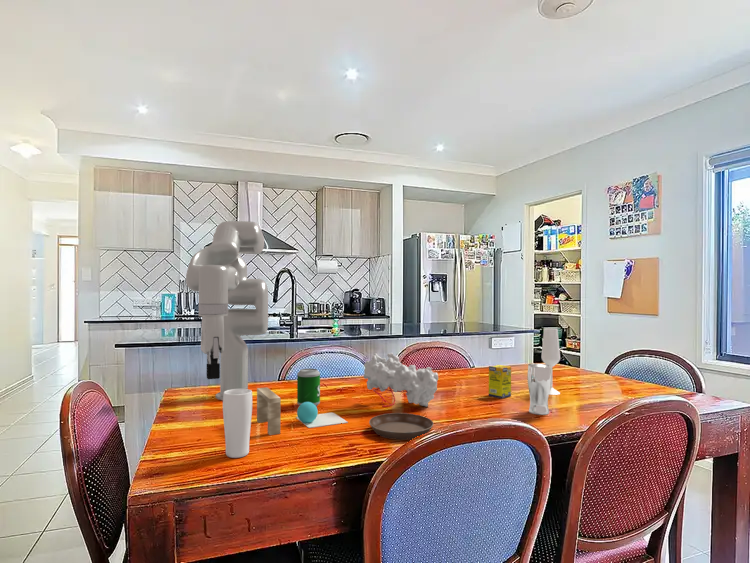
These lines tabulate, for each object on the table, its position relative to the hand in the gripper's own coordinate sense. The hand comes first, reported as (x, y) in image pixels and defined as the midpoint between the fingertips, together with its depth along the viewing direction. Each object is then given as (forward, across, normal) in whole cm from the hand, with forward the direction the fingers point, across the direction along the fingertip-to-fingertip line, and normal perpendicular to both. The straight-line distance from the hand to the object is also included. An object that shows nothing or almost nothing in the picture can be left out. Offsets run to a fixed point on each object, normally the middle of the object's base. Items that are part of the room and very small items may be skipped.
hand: (213, 378), depth 131 cm
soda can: (+15, -18, +33) cm, 41 cm away
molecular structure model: (+15, -5, +60) cm, 62 cm away
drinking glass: (+15, +19, +3) cm, 25 cm away
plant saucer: (+16, +20, +47) cm, 53 cm away
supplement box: (+15, -1, +100) cm, 101 cm away
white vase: (+15, +22, +96) cm, 100 cm away
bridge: (+15, 0, +15) cm, 21 cm away
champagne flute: (+15, +3, +121) cm, 122 cm away
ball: (+12, +1, +26) cm, 29 cm away
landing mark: (+15, 0, +31) cm, 34 cm away
